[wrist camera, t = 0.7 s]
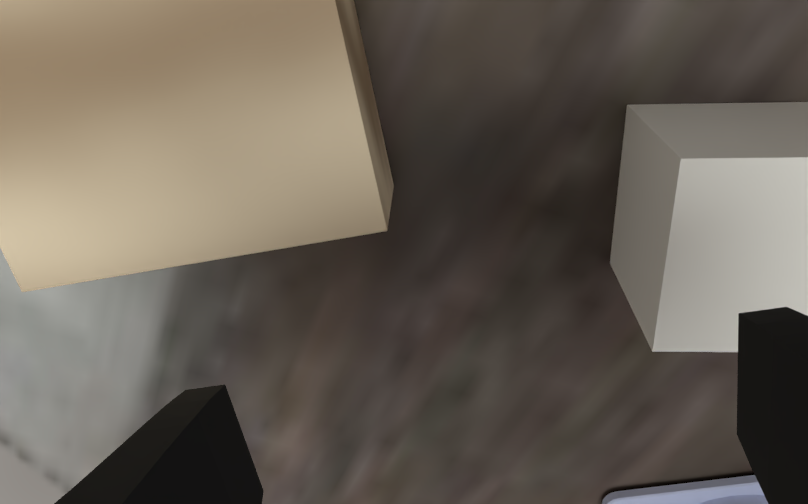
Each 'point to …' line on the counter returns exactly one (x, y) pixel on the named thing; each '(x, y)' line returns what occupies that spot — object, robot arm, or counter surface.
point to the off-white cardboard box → (711, 218)
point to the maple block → (182, 133)
